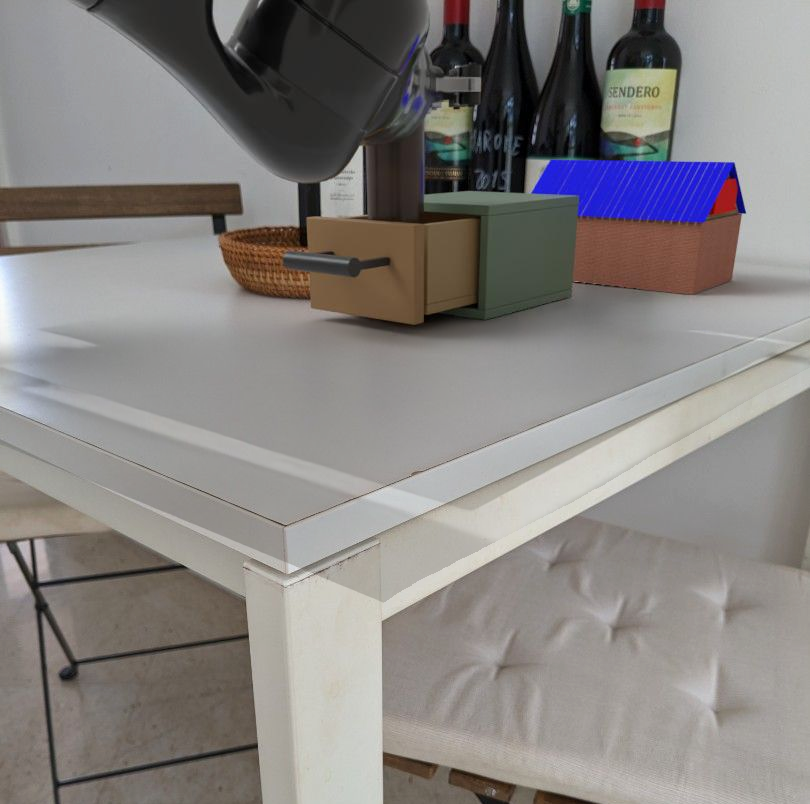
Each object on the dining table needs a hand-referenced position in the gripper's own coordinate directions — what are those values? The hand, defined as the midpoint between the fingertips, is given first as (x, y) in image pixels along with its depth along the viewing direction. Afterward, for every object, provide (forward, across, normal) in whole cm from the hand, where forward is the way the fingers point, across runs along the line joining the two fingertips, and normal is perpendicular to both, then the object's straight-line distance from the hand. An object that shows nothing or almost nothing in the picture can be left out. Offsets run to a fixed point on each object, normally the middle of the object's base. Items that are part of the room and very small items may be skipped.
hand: (398, 93), depth 68 cm
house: (+22, +22, -17) cm, 36 cm away
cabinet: (+7, +6, -17) cm, 20 cm away
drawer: (-3, 0, -16) cm, 17 cm away
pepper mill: (-3, 0, -12) cm, 12 cm away
